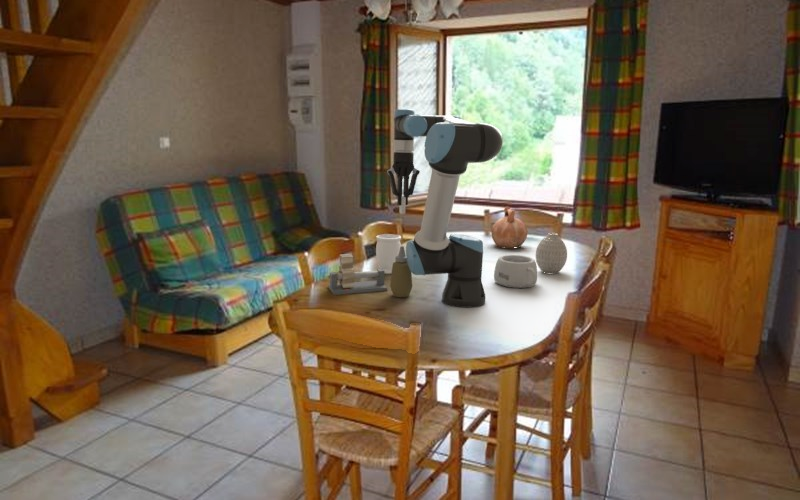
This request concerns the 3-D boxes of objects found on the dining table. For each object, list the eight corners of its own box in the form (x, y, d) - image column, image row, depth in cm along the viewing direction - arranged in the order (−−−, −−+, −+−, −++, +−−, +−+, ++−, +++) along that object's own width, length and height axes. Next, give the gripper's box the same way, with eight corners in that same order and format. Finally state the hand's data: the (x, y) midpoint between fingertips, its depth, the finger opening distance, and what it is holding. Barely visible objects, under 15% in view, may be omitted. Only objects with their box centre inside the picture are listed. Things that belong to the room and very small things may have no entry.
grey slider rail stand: (387, 290, 208) (387, 273, 207) (333, 294, 202) (333, 277, 200) (379, 283, 217) (379, 266, 216) (327, 287, 211) (327, 270, 209)
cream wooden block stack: (354, 287, 205) (354, 257, 203) (343, 288, 204) (343, 257, 202) (349, 282, 212) (349, 253, 209) (338, 282, 210) (338, 253, 208)
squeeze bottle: (404, 300, 197) (405, 250, 193) (385, 296, 202) (386, 247, 198) (416, 294, 204) (417, 246, 200) (397, 290, 208) (398, 243, 204)
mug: (485, 279, 226) (486, 255, 224) (520, 276, 232) (521, 252, 230) (516, 294, 207) (518, 268, 205) (553, 290, 213) (555, 264, 211)
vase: (528, 272, 239) (531, 233, 235) (543, 266, 248) (546, 229, 245) (556, 278, 231) (559, 238, 227) (570, 272, 240) (574, 233, 236)
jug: (530, 251, 279) (532, 211, 275) (493, 250, 279) (495, 210, 275) (522, 243, 297) (525, 205, 293) (488, 242, 297) (490, 204, 293)
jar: (397, 275, 229) (398, 239, 226) (373, 273, 231) (373, 237, 228) (402, 269, 239) (403, 234, 236) (379, 267, 241) (379, 233, 238)
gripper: (416, 151, 218) (414, 211, 223) (384, 150, 214) (383, 212, 219) (423, 152, 211) (421, 214, 216) (390, 152, 207) (389, 215, 212)
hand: (402, 213), depth 218 cm, fingers closed
